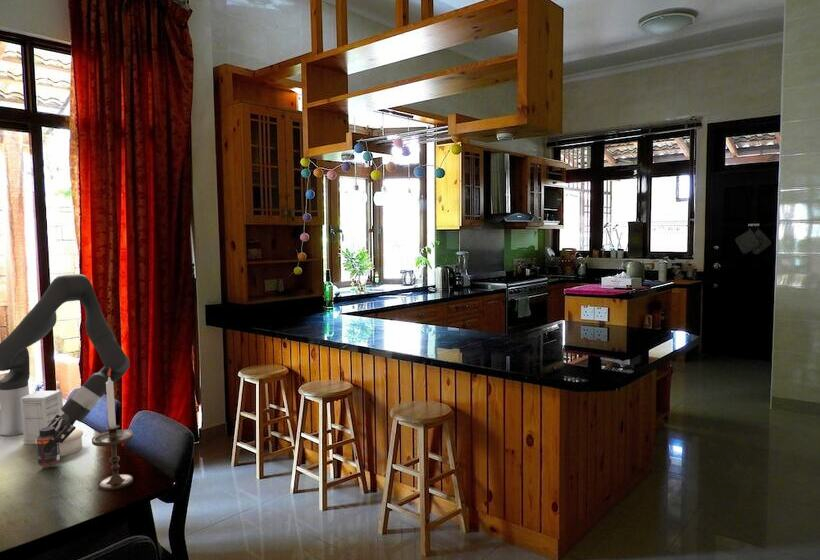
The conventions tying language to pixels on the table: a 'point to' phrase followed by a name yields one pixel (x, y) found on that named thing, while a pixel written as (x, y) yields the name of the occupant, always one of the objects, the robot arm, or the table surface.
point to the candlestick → (113, 444)
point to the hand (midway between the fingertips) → (42, 449)
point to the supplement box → (39, 412)
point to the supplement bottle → (42, 440)
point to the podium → (70, 443)
